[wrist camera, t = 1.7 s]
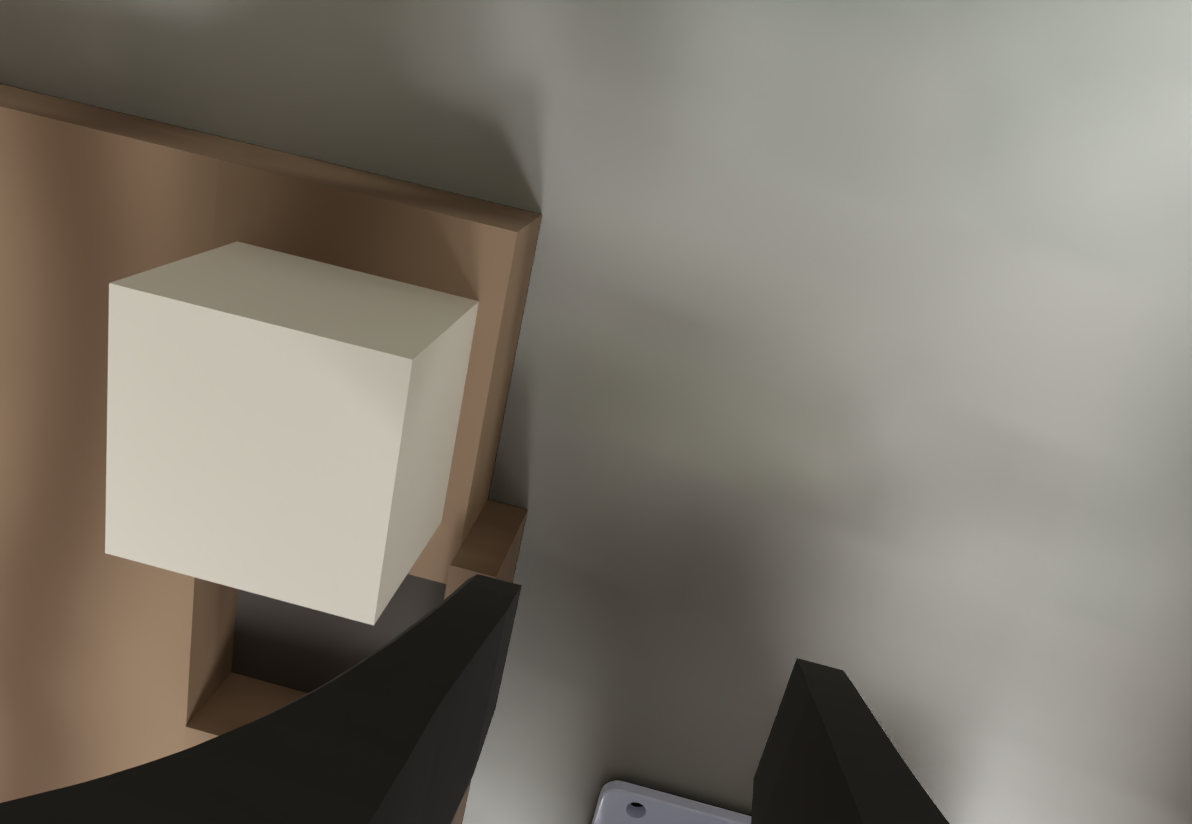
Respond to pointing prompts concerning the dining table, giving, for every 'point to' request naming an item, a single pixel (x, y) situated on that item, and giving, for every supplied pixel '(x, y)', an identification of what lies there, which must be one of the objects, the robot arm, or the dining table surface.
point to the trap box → (79, 429)
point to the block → (281, 424)
